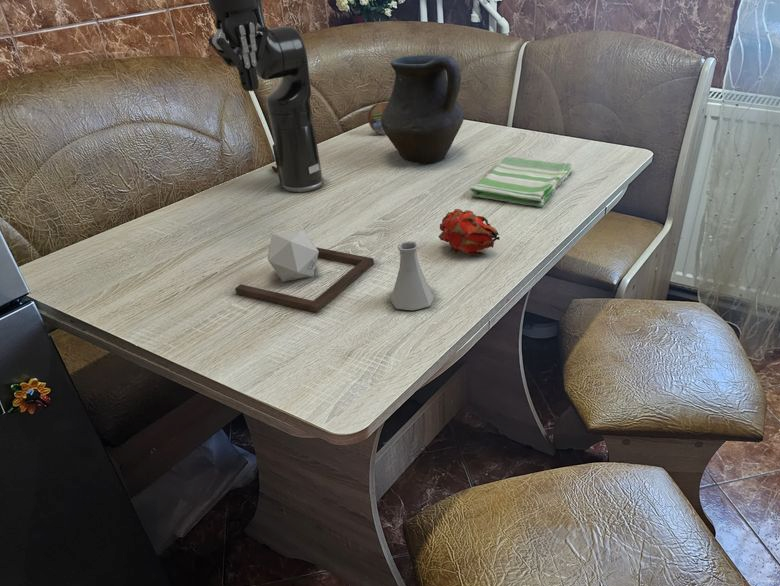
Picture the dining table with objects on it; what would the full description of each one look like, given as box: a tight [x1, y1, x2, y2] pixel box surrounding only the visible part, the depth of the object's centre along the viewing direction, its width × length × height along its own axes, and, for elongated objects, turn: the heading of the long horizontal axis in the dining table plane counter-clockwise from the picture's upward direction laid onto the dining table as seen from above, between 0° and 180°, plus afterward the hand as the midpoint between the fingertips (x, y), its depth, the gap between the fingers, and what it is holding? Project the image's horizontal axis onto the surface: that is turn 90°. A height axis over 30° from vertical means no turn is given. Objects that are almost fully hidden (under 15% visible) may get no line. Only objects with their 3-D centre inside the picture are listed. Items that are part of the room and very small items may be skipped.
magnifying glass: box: [367, 101, 388, 136], centre depth 178 cm, size 15×3×8 cm, turn 117°
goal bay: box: [234, 246, 375, 314], centre depth 111 cm, size 16×18×1 cm
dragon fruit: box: [438, 208, 501, 257], centre depth 116 cm, size 8×8×12 cm
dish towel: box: [469, 157, 573, 208], centre depth 144 cm, size 18×23×3 cm
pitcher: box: [381, 54, 465, 164], centre depth 154 cm, size 21×22×25 cm
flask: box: [390, 240, 435, 311], centre depth 101 cm, size 7×7×10 cm
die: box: [267, 227, 319, 283], centre depth 110 cm, size 8×9×10 cm
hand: (251, 89), depth 112 cm, fingers closed
